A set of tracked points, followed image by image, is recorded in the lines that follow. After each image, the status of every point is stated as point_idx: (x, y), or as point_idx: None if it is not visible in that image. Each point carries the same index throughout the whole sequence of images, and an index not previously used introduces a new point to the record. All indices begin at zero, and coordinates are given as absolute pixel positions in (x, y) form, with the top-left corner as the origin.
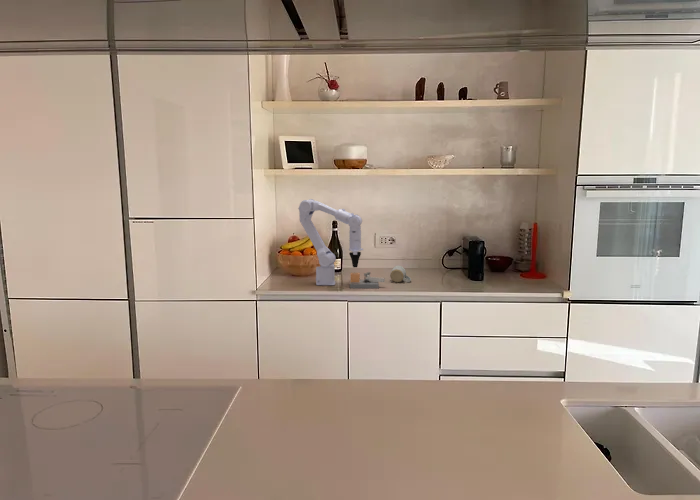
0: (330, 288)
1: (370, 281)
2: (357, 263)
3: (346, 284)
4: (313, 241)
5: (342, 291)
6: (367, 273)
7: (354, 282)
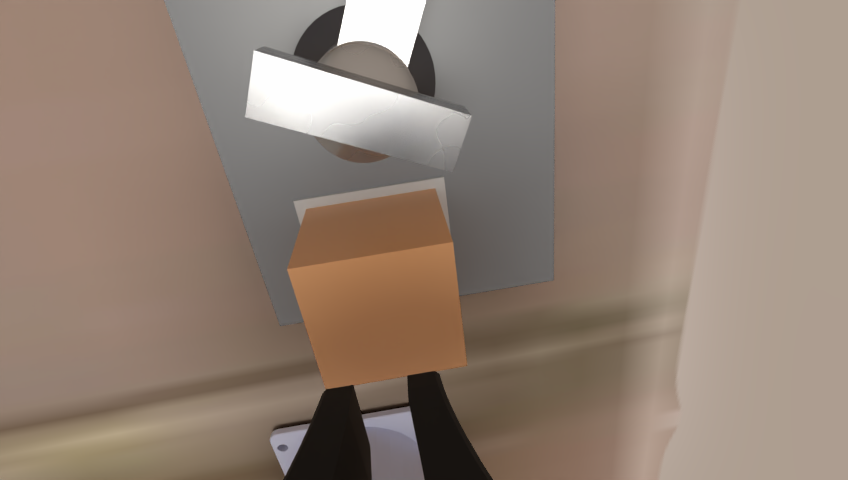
0: (544, 405)
1: None
2: (465, 441)
3: None
4: None
5: (672, 295)
6: (424, 100)
7: None
